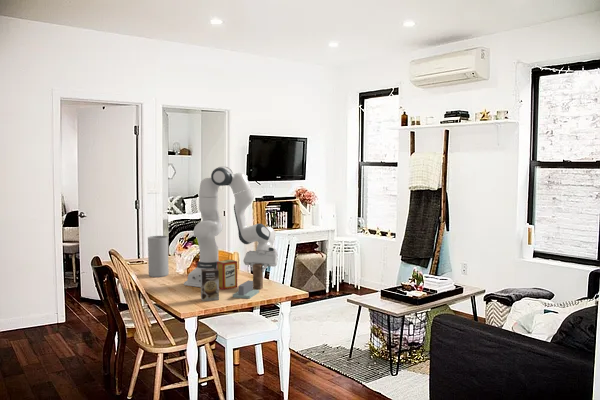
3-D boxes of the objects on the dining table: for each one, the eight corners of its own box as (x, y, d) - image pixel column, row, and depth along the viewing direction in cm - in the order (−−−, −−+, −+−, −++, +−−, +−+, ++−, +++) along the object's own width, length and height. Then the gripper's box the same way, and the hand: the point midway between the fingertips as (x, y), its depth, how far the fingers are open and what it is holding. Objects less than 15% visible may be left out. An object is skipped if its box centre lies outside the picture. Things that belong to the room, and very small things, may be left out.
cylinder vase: (165, 277, 350) (164, 238, 348) (146, 277, 351) (145, 238, 349) (170, 273, 363) (169, 235, 361) (151, 273, 363) (151, 235, 361)
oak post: (253, 288, 319) (252, 265, 318) (255, 287, 322) (255, 263, 321) (260, 289, 317) (260, 265, 316) (262, 287, 321) (262, 264, 320)
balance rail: (232, 297, 300) (232, 285, 299) (242, 291, 313) (242, 280, 313) (249, 298, 297) (249, 286, 296) (258, 292, 310) (258, 281, 310)
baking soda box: (223, 289, 317) (223, 262, 315) (217, 287, 322) (217, 260, 321) (237, 287, 323) (237, 260, 321) (231, 285, 328) (231, 258, 327)
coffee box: (202, 301, 292) (201, 271, 290) (201, 298, 298) (200, 268, 297) (219, 300, 294) (218, 270, 293) (217, 297, 300) (217, 267, 299)
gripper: (245, 247, 328) (239, 266, 319) (278, 249, 322) (272, 268, 313) (248, 253, 332) (242, 273, 324) (280, 255, 327) (275, 275, 318)
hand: (257, 271), depth 319 cm, fingers closed on oak post, 4 cm apart
